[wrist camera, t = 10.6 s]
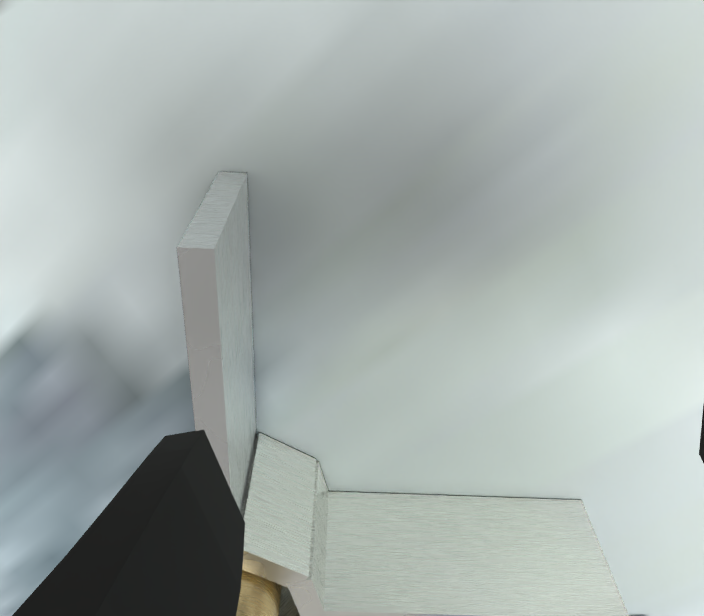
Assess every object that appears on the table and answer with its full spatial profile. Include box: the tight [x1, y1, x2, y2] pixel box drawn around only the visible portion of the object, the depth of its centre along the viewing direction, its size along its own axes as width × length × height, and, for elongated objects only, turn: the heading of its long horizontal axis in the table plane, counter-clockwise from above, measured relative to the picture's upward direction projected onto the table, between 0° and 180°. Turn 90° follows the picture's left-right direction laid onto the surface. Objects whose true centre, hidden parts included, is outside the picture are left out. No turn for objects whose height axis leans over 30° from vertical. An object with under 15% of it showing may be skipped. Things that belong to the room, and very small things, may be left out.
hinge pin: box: [236, 570, 281, 616], centre depth 21 cm, size 4×4×8 cm
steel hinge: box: [177, 172, 629, 616], centre depth 20 cm, size 16×16×5 cm
